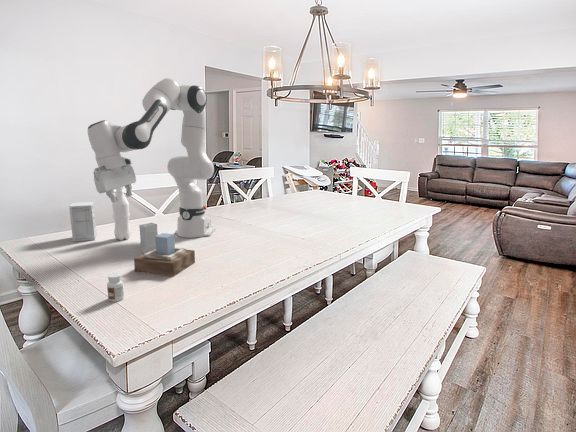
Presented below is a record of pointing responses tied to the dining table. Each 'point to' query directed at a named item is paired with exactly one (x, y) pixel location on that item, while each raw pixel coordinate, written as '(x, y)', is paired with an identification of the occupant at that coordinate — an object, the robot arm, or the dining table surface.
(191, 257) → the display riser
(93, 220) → the supplement box
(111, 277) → the pill bottle
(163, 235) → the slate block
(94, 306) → the dining table surface
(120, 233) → the water bottle
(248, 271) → the dining table surface
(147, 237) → the skincare box
